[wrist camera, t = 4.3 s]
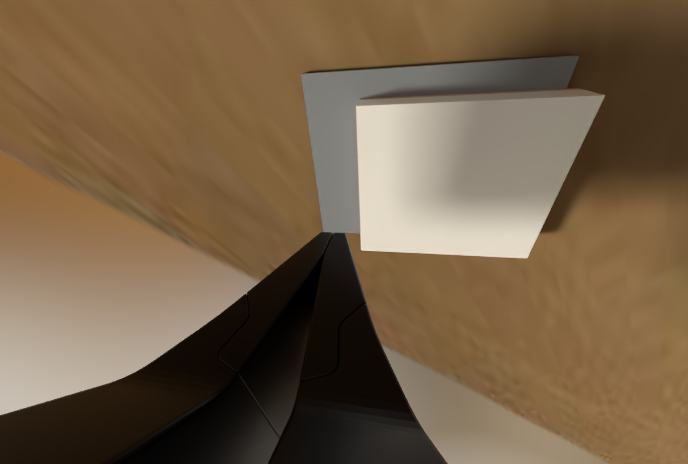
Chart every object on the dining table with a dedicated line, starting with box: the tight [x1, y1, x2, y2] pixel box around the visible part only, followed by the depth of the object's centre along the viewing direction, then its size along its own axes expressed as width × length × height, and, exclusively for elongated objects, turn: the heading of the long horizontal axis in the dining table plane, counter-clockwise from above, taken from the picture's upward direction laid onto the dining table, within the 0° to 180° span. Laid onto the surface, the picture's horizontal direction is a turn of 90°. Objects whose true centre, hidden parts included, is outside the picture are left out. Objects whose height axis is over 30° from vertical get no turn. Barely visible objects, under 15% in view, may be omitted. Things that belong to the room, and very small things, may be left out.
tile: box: [356, 88, 605, 258], centre depth 11 cm, size 2×7×8 cm
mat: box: [301, 55, 579, 233], centre depth 12 cm, size 10×8×1 cm
